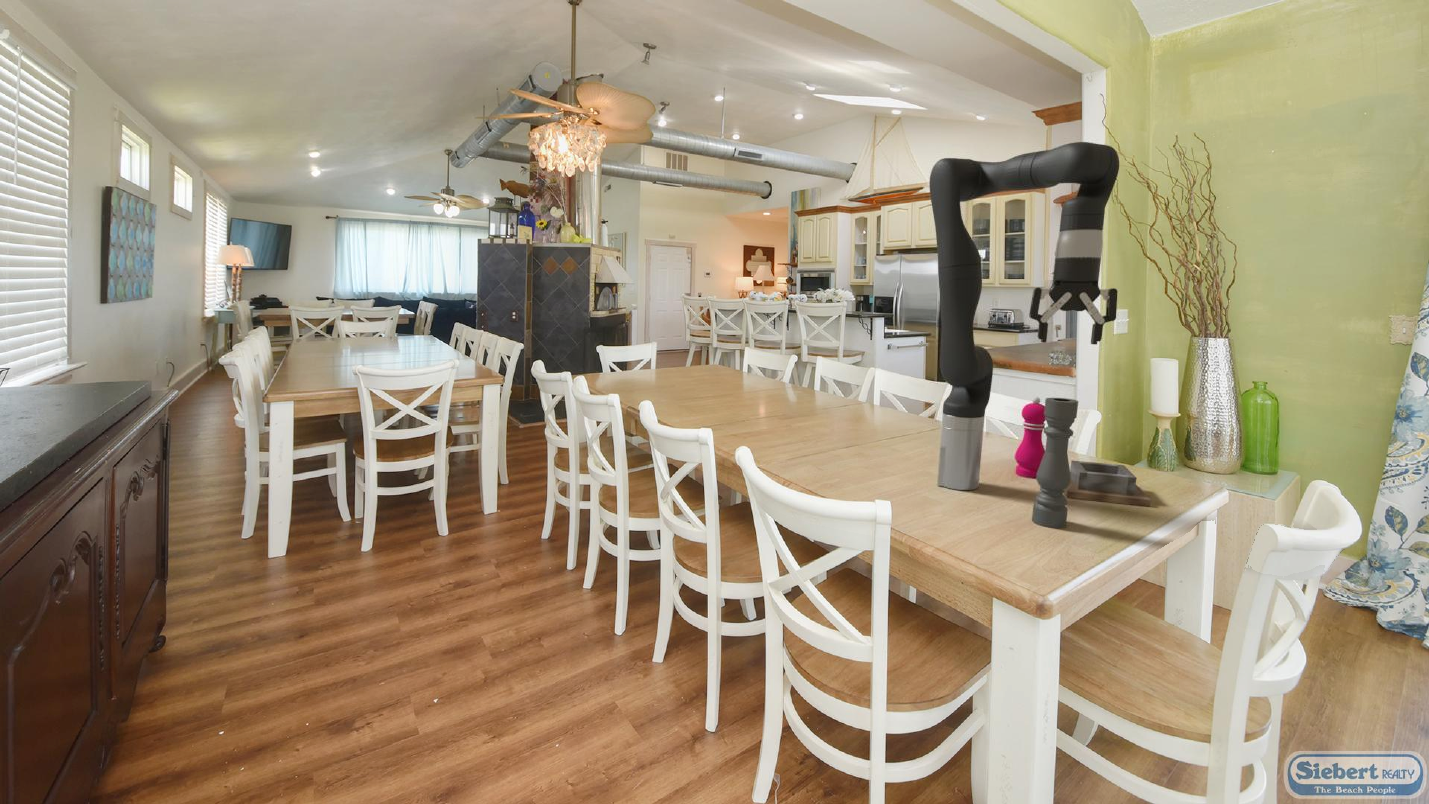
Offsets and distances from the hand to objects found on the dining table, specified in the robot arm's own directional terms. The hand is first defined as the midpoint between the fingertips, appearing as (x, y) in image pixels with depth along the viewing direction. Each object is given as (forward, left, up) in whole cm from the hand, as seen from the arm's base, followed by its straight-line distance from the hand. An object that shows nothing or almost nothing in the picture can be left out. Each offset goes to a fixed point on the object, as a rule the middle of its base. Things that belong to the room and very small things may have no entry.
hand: (1068, 343), depth 121 cm
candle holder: (0, 0, -36) cm, 36 cm away
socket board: (+14, +27, -36) cm, 47 cm away
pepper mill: (0, +36, -36) cm, 51 cm away
